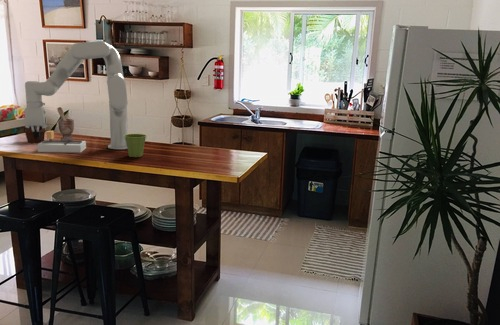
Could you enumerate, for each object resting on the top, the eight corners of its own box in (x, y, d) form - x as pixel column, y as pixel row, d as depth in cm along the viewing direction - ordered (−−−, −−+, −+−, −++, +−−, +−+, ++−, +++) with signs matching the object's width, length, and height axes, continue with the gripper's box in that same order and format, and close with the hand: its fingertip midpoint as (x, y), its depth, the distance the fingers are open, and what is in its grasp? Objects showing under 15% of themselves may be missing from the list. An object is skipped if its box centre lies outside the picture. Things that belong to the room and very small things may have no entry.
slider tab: (54, 141, 234) (53, 130, 232) (51, 142, 230) (51, 131, 228) (49, 141, 234) (49, 130, 232) (47, 142, 229) (46, 131, 228)
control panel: (86, 147, 241) (85, 139, 240) (80, 152, 229) (80, 143, 228) (45, 147, 238) (44, 138, 237) (37, 151, 226) (37, 143, 225)
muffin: (20, 143, 246) (19, 126, 244) (33, 139, 257) (31, 123, 254) (38, 144, 244) (37, 127, 242) (50, 141, 255) (49, 124, 252)
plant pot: (151, 155, 229) (151, 135, 226) (135, 159, 219) (135, 138, 216) (135, 152, 235) (135, 132, 232) (119, 156, 225) (118, 135, 222)
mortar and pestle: (52, 141, 255) (49, 107, 250) (62, 138, 263) (60, 106, 258) (67, 143, 252) (65, 109, 247) (77, 140, 260) (76, 108, 255)
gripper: (51, 104, 230) (53, 137, 235) (22, 103, 228) (25, 136, 233) (46, 105, 223) (49, 140, 228) (16, 105, 221) (19, 139, 226)
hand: (37, 138), depth 230 cm, fingers closed
